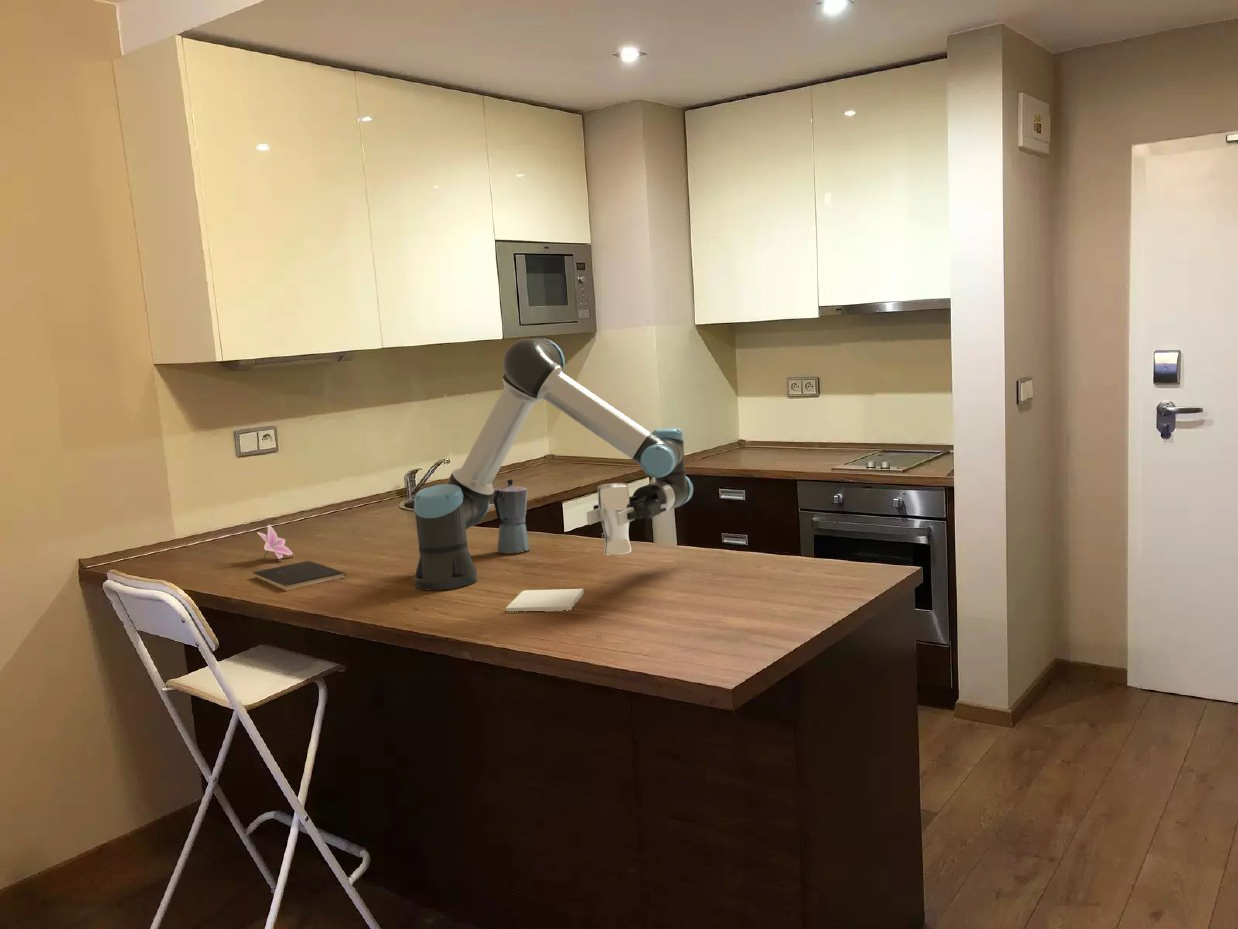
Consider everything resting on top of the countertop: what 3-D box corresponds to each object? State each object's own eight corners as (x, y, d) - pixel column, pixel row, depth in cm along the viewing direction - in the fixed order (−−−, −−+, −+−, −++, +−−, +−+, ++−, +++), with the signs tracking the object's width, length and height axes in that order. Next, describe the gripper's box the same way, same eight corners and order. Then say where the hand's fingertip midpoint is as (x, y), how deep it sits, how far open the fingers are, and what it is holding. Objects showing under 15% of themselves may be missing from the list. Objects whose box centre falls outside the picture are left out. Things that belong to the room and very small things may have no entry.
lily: (259, 571, 275) (273, 540, 274) (237, 552, 281) (251, 522, 280) (294, 574, 285) (307, 544, 284) (272, 555, 291) (284, 526, 291)
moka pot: (541, 545, 276) (535, 475, 273) (517, 558, 261) (511, 484, 258) (510, 545, 279) (504, 476, 276) (485, 558, 264) (478, 485, 262)
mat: (506, 612, 210) (505, 607, 210) (523, 594, 223) (523, 590, 223) (570, 610, 207) (569, 606, 207) (583, 593, 221) (583, 588, 221)
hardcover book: (285, 593, 244) (284, 584, 243) (254, 580, 262) (253, 572, 261) (346, 580, 254) (345, 571, 253) (312, 568, 272) (311, 560, 271)
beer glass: (601, 550, 220) (595, 484, 218) (631, 547, 221) (627, 481, 219) (603, 557, 213) (597, 489, 211) (635, 554, 214) (630, 486, 212)
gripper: (691, 516, 227) (644, 537, 207) (617, 514, 237) (566, 534, 217) (689, 484, 226) (642, 502, 206) (615, 483, 236) (563, 500, 216)
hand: (603, 518), depth 212 cm, fingers closed on beer glass, 7 cm apart
